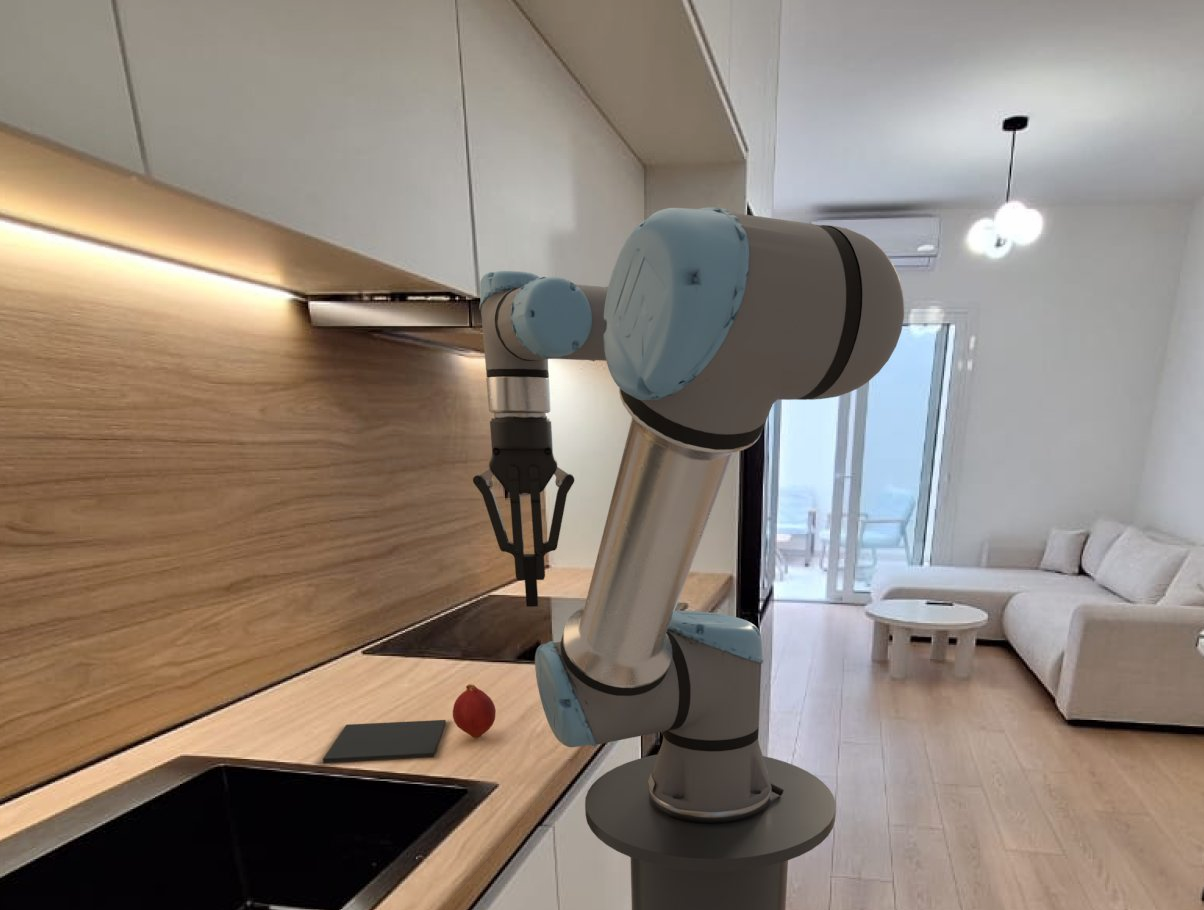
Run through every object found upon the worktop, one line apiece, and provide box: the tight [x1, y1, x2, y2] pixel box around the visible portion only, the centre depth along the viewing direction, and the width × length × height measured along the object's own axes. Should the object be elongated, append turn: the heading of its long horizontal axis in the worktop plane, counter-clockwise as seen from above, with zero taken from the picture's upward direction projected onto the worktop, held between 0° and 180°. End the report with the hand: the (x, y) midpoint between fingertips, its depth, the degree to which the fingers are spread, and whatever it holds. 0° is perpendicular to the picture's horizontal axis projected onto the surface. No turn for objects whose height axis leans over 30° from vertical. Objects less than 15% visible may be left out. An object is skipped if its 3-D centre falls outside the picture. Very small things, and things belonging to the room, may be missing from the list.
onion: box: [452, 683, 497, 739], centre depth 113 cm, size 6×6×8 cm
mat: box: [322, 719, 447, 764], centre depth 112 cm, size 14×13×1 cm
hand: (532, 604), depth 109 cm, fingers closed
